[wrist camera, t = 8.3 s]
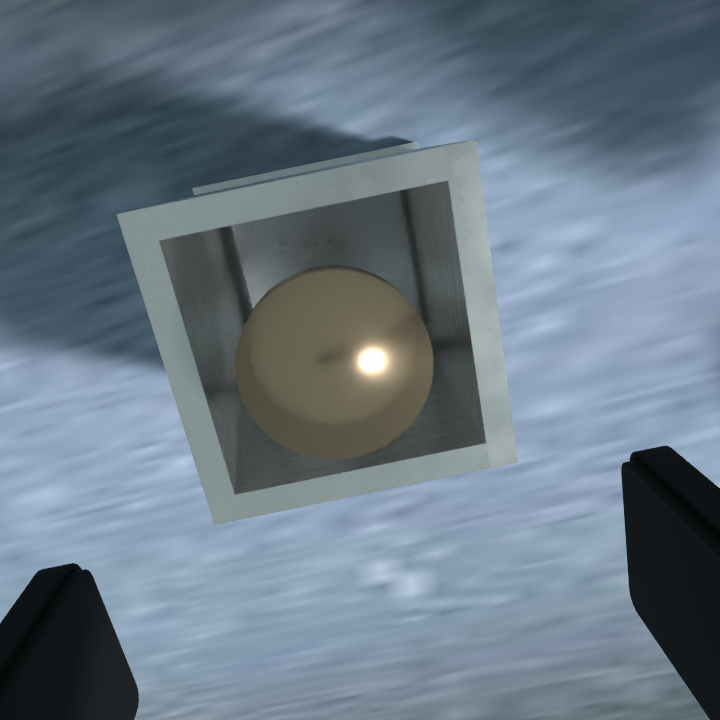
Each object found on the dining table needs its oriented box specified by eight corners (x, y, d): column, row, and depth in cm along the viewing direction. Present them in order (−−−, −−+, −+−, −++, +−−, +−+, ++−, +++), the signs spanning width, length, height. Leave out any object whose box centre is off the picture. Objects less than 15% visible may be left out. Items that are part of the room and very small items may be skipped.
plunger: (392, 184, 36) (450, 201, 20) (419, 339, 39) (489, 463, 23) (231, 217, 36) (158, 261, 20) (270, 370, 39) (235, 515, 23)
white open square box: (414, 142, 38) (485, 125, 22) (447, 350, 43) (527, 468, 26) (196, 187, 38) (101, 205, 22) (251, 390, 43) (207, 534, 26)
